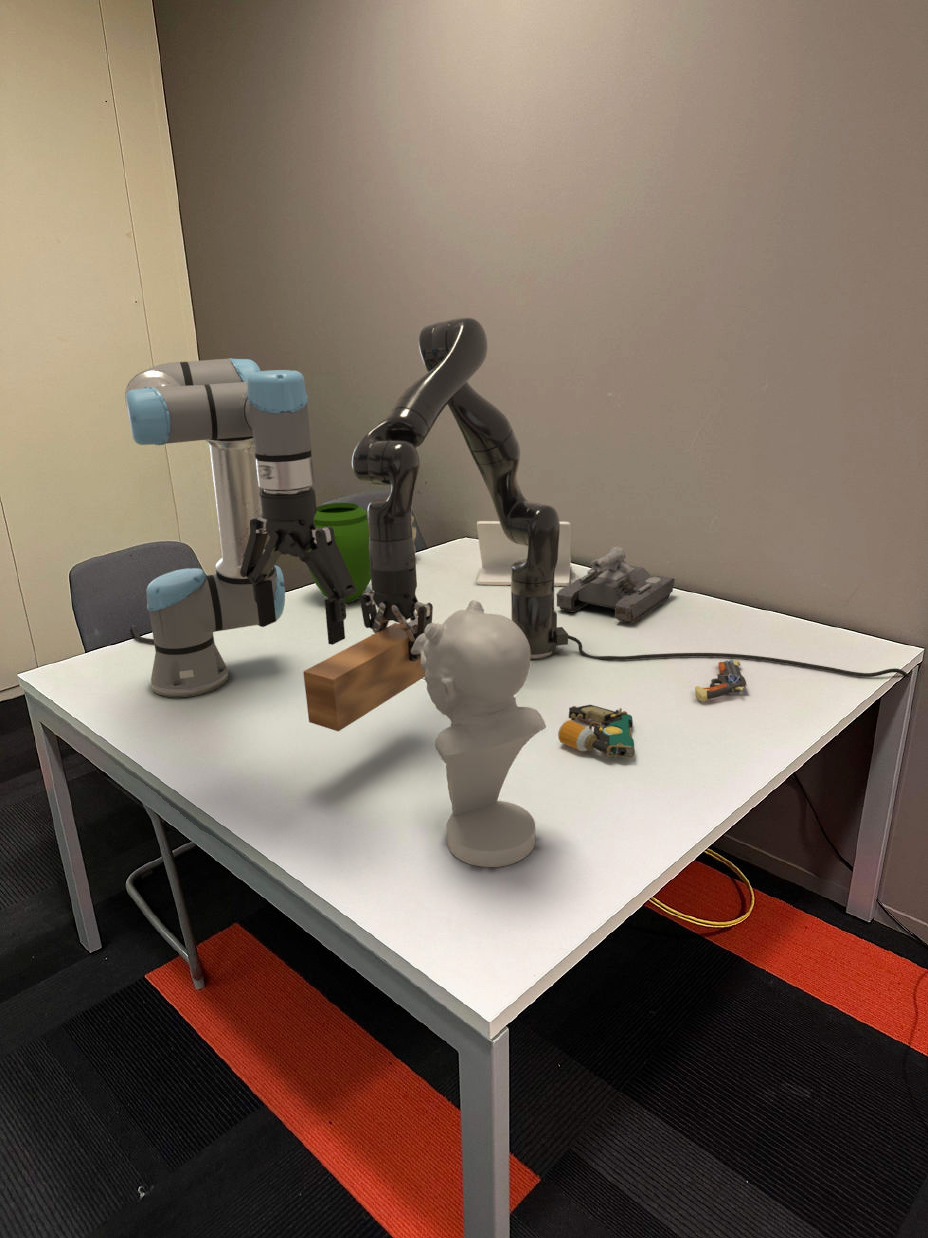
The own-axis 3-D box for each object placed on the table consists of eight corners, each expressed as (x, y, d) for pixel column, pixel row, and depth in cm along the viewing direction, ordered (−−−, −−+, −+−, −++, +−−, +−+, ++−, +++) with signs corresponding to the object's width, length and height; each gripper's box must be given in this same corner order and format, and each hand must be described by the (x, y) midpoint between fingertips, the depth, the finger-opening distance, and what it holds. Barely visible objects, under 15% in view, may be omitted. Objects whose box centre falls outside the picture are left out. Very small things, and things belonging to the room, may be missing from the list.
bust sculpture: (481, 772, 140) (476, 569, 128) (565, 848, 120) (569, 617, 108) (392, 800, 134) (378, 588, 121) (465, 886, 114) (457, 642, 101)
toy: (603, 584, 229) (605, 530, 224) (673, 597, 218) (677, 540, 213) (555, 612, 210) (556, 553, 205) (630, 627, 199) (633, 566, 194)
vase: (396, 593, 227) (391, 503, 219) (349, 616, 212) (341, 520, 203) (340, 582, 237) (333, 496, 228) (291, 603, 222) (281, 511, 213)
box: (398, 668, 152) (395, 622, 149) (426, 676, 149) (423, 629, 145) (308, 722, 134) (303, 671, 131) (338, 731, 131) (333, 679, 128)
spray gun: (574, 713, 161) (653, 730, 155) (544, 749, 146) (630, 769, 140) (576, 692, 159) (656, 709, 153) (546, 727, 145) (632, 746, 139)
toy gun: (696, 691, 161) (751, 688, 159) (689, 658, 179) (739, 655, 177) (697, 705, 162) (752, 702, 159) (690, 670, 179) (740, 667, 177)
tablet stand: (569, 585, 229) (570, 524, 223) (476, 584, 232) (475, 523, 226) (570, 566, 246) (571, 508, 240) (484, 564, 249) (483, 507, 243)
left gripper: (203, 484, 120) (222, 624, 128) (338, 504, 107) (350, 658, 115) (243, 475, 126) (259, 609, 134) (375, 492, 113) (384, 640, 121)
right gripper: (344, 562, 141) (352, 655, 147) (414, 575, 133) (420, 672, 139) (373, 550, 147) (379, 640, 153) (441, 562, 139) (446, 656, 145)
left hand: (301, 632), depth 124 cm, fingers open, 13 cm apart
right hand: (399, 655), depth 146 cm, fingers closed on box, 6 cm apart
